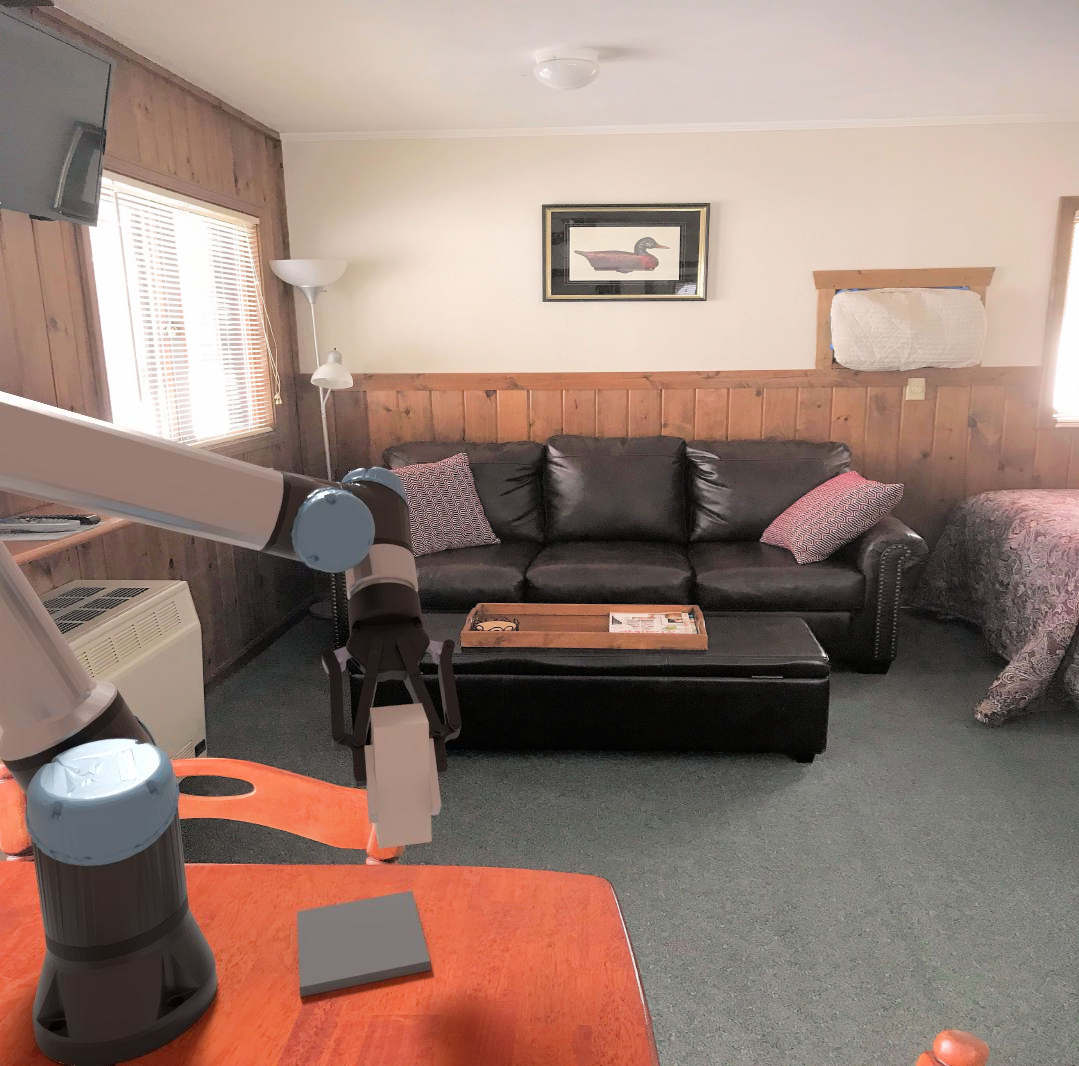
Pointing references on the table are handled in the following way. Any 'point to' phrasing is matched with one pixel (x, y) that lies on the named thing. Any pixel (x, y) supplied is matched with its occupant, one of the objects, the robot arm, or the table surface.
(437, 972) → the table surface
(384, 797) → the white rectangular block
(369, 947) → the mat
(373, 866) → the table surface
